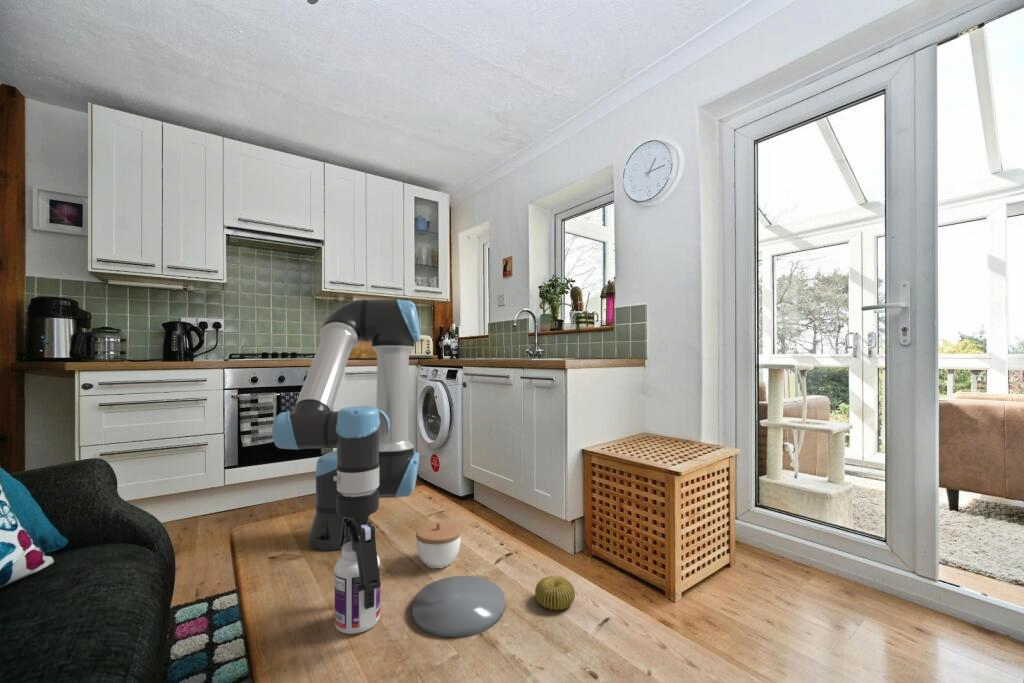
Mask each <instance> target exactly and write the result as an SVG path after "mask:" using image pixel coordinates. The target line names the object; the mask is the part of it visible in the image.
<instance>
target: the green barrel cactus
mask: <svg viewBox="0 0 1024 683" xmlns="http://www.w3.org/2000/svg"><path fill="white" fill-rule="evenodd" d="M534 590H535V591H534V594H535V598H536V601H537V602H538V604H540V605H541V606H542V607H543V608H545V609H548V610H551V611H552V610H554V611H562V610H565V609H567V608H569V607H570V606H571V605H572V604H573V602H574V600H575V597H576V590H575V587H574V586H573V584H572V583H571V582H570V581H569V580H568V579H567V578H565V577H562V576H559V575H557V576H556V575H550V576H545V577H542V579H540V580H539V581H538V582H537V583H536V586H535V589H534Z"/></svg>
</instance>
